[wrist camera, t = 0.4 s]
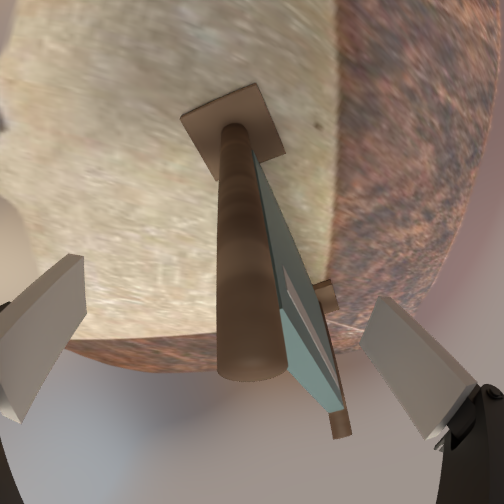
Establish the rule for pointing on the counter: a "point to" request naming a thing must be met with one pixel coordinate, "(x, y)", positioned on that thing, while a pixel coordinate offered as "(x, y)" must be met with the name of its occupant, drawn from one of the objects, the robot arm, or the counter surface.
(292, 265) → the gate door
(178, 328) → the counter surface
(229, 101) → the gate frame
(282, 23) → the counter surface
